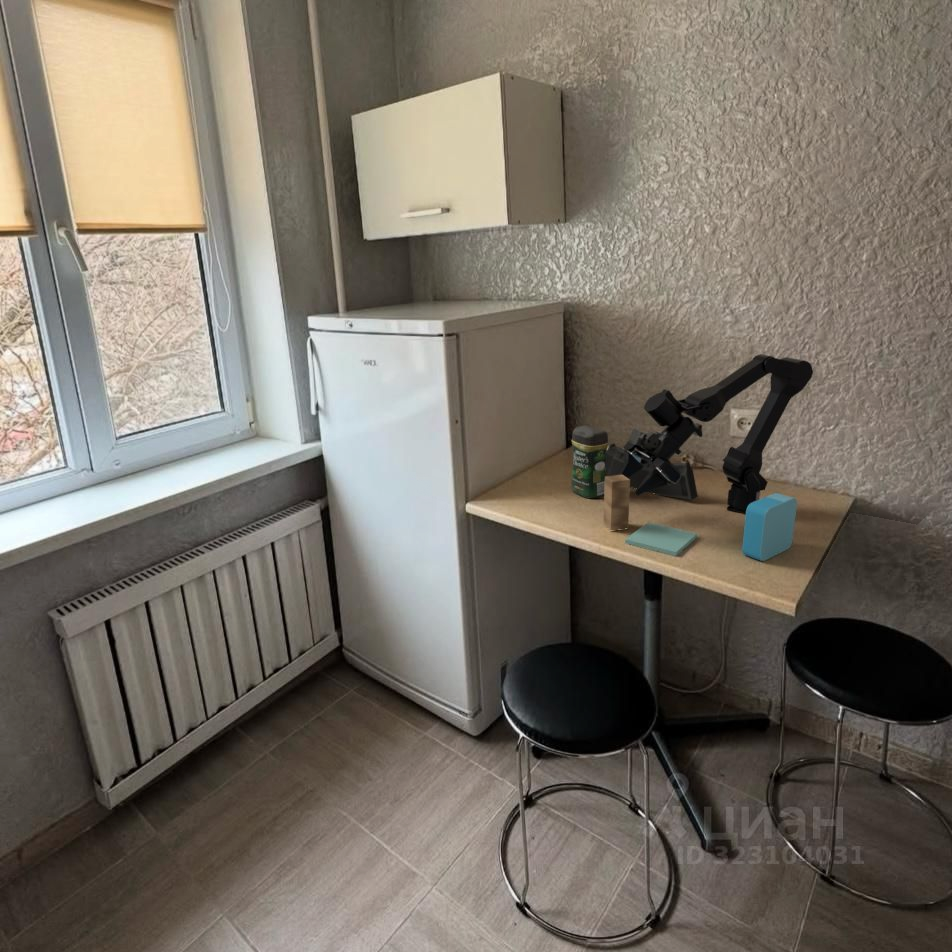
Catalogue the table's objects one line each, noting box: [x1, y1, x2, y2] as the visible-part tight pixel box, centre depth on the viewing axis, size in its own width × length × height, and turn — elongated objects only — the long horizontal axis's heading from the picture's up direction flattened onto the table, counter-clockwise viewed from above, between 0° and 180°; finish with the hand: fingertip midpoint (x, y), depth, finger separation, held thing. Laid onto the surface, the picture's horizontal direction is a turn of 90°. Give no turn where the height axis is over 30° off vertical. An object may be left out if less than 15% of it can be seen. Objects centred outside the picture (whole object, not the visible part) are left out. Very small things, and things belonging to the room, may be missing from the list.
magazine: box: [606, 442, 699, 500], centre depth 179 cm, size 17×3×30 cm
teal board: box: [624, 521, 698, 557], centre depth 150 cm, size 12×12×1 cm
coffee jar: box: [570, 424, 609, 499], centre depth 177 cm, size 10×8×19 cm
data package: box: [741, 492, 798, 562], centre depth 140 cm, size 12×4×12 cm, turn 125°
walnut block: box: [603, 475, 631, 531], centre depth 156 cm, size 4×4×12 cm
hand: (626, 487), depth 155 cm, fingers open, 9 cm apart
